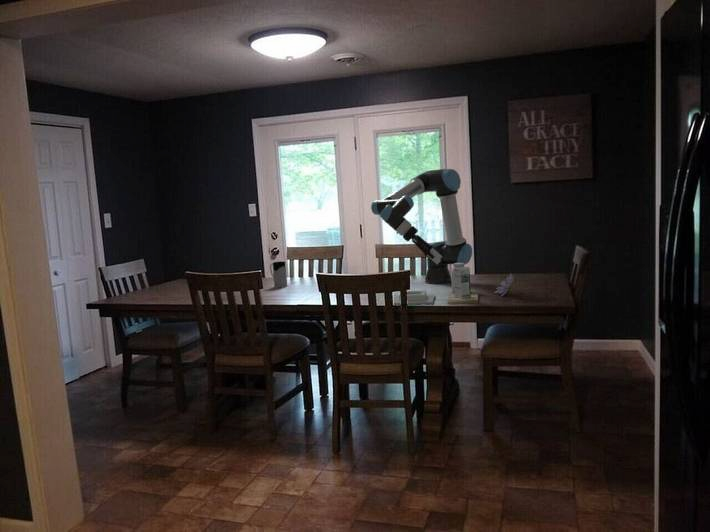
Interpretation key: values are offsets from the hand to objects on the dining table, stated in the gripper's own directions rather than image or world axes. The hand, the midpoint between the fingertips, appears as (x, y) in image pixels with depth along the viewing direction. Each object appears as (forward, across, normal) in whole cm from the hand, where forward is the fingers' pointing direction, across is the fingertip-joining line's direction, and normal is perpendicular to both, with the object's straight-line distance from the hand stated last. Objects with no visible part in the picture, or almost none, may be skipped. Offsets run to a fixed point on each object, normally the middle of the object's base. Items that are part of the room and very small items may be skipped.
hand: (439, 260), depth 285 cm
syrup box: (+20, 0, -6) cm, 21 cm away
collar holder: (+4, 0, -24) cm, 24 cm away
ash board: (+21, 0, -6) cm, 22 cm away
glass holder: (-58, -55, -86) cm, 117 cm away
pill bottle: (+20, -21, -8) cm, 30 cm away
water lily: (+36, -10, +7) cm, 38 cm away
